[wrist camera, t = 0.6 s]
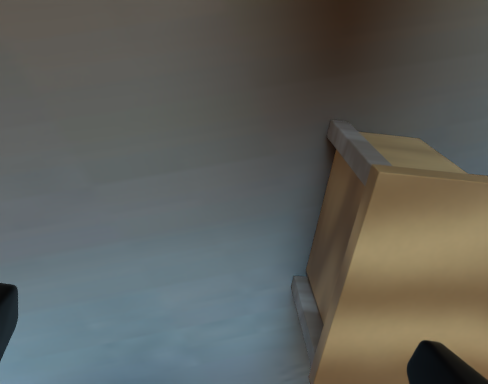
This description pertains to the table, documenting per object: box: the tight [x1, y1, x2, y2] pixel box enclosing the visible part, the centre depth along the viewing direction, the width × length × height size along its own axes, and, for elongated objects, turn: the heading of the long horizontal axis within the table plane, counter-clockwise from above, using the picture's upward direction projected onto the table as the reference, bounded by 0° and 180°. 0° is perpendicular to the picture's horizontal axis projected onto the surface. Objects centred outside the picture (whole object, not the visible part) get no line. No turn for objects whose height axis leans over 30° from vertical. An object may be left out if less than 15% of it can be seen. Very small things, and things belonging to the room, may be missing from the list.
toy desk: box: [291, 120, 488, 384], centre depth 21 cm, size 12×16×8 cm
